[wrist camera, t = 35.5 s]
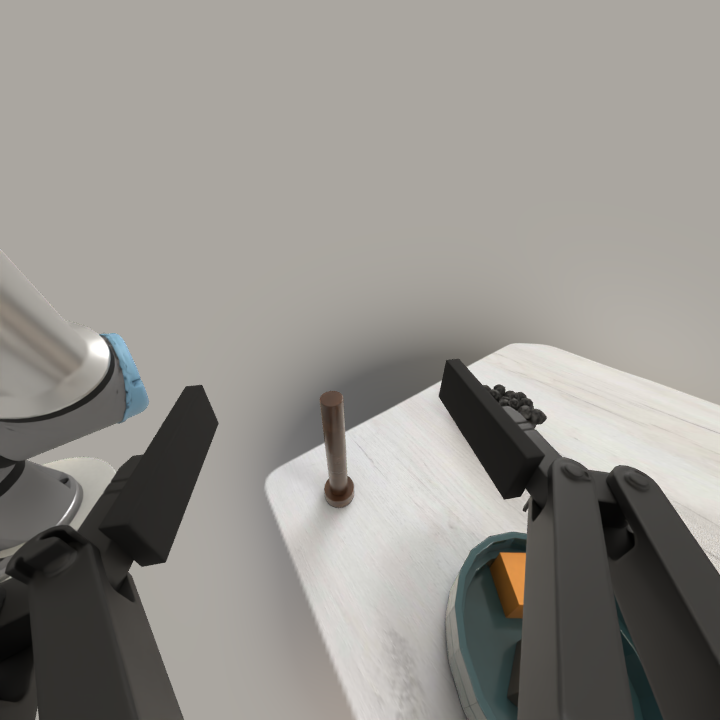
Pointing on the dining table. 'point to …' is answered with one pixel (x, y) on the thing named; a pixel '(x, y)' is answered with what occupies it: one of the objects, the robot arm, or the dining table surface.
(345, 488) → the stir stick
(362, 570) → the dining table surface
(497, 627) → the bowl
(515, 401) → the fruit
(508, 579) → the amber block
